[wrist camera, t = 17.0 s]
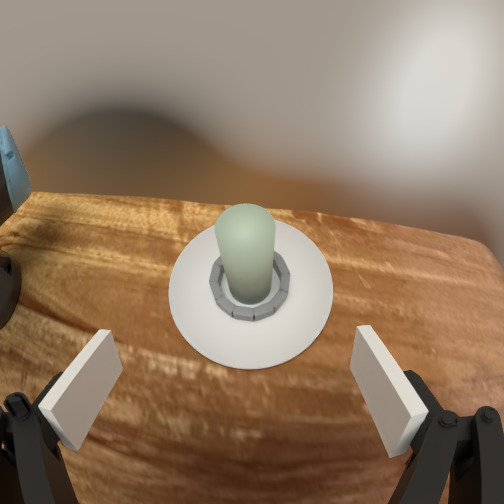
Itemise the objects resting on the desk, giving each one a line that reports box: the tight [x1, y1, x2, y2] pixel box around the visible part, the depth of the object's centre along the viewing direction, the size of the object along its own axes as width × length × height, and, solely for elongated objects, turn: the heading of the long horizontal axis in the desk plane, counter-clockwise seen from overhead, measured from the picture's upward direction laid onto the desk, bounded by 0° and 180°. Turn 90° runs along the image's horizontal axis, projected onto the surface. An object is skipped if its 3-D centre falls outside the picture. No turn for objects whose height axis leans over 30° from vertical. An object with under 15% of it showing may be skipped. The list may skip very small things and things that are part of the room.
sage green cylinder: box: [215, 204, 276, 305], centre depth 28 cm, size 5×5×12 cm
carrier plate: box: [169, 220, 333, 370], centre depth 33 cm, size 20×20×3 cm
